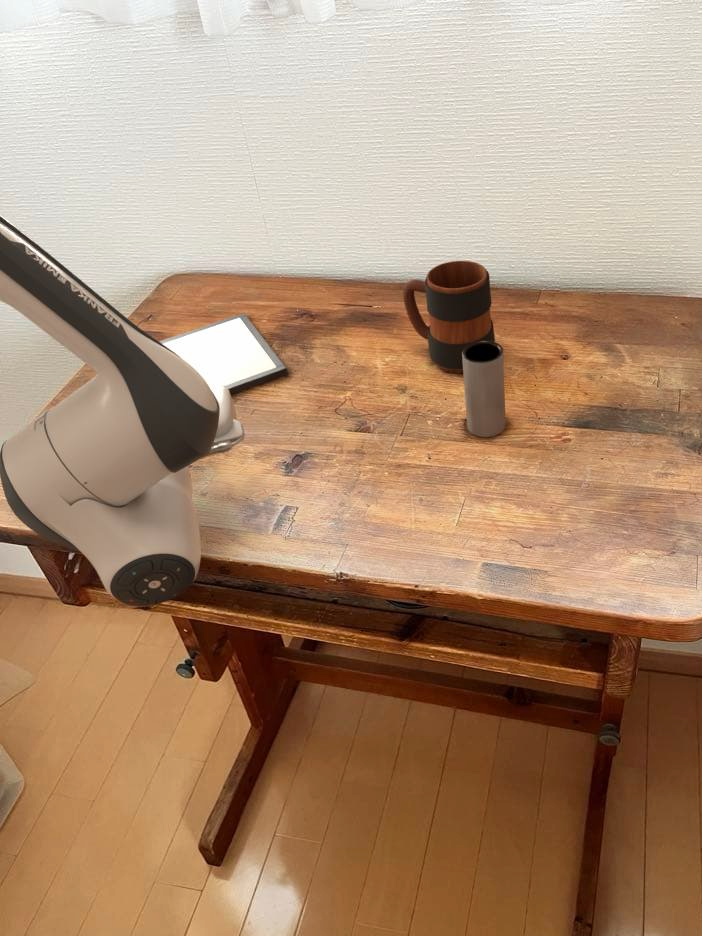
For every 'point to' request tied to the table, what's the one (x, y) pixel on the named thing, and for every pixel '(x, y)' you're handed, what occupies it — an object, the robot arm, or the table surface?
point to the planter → (484, 388)
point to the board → (228, 354)
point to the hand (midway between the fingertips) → (134, 395)
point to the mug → (452, 310)
